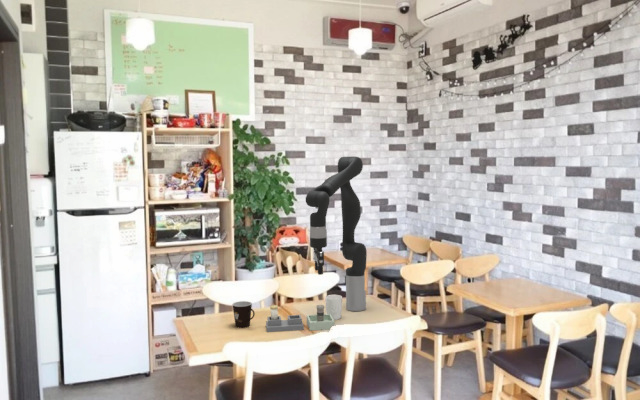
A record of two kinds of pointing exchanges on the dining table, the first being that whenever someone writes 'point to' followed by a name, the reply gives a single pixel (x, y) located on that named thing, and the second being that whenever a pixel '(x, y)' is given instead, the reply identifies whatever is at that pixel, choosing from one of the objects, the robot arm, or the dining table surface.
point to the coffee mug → (242, 313)
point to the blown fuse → (320, 313)
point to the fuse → (274, 312)
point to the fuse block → (285, 324)
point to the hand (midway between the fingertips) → (318, 272)
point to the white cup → (334, 306)
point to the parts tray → (320, 325)
